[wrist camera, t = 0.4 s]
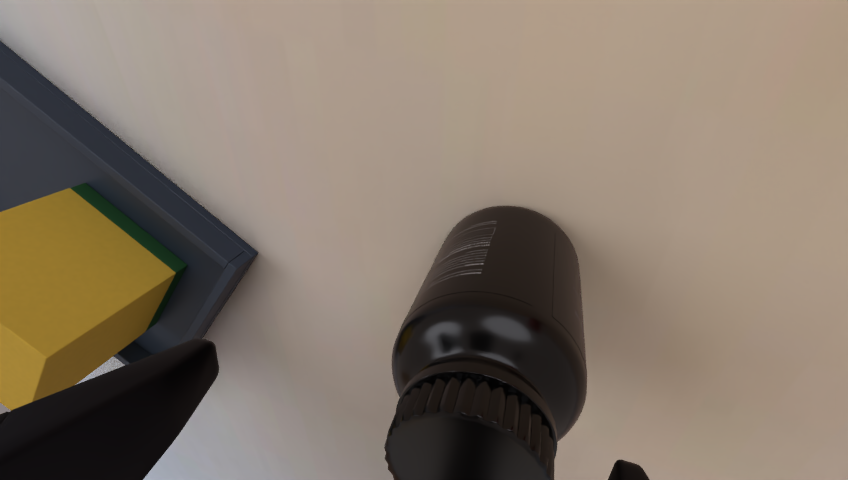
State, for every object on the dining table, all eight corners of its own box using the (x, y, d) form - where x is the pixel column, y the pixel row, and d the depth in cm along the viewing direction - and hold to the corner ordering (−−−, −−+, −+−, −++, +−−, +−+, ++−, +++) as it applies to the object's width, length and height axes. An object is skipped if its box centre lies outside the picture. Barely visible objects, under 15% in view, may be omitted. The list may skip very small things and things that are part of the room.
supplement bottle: (444, 310, 25) (357, 518, 15) (442, 196, 22) (331, 356, 12) (572, 329, 23) (575, 579, 13) (590, 207, 20) (612, 407, 10)
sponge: (188, 264, 28) (46, 358, 21) (157, 323, 32) (25, 422, 24) (85, 181, 28) (-101, 246, 20) (64, 251, 31) (-101, 328, 24)
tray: (258, 252, 27) (236, 269, 25) (180, 371, 35) (158, 391, 33) (-97, -39, 25) (-148, -43, 23) (-96, 157, 33) (-135, 165, 31)
